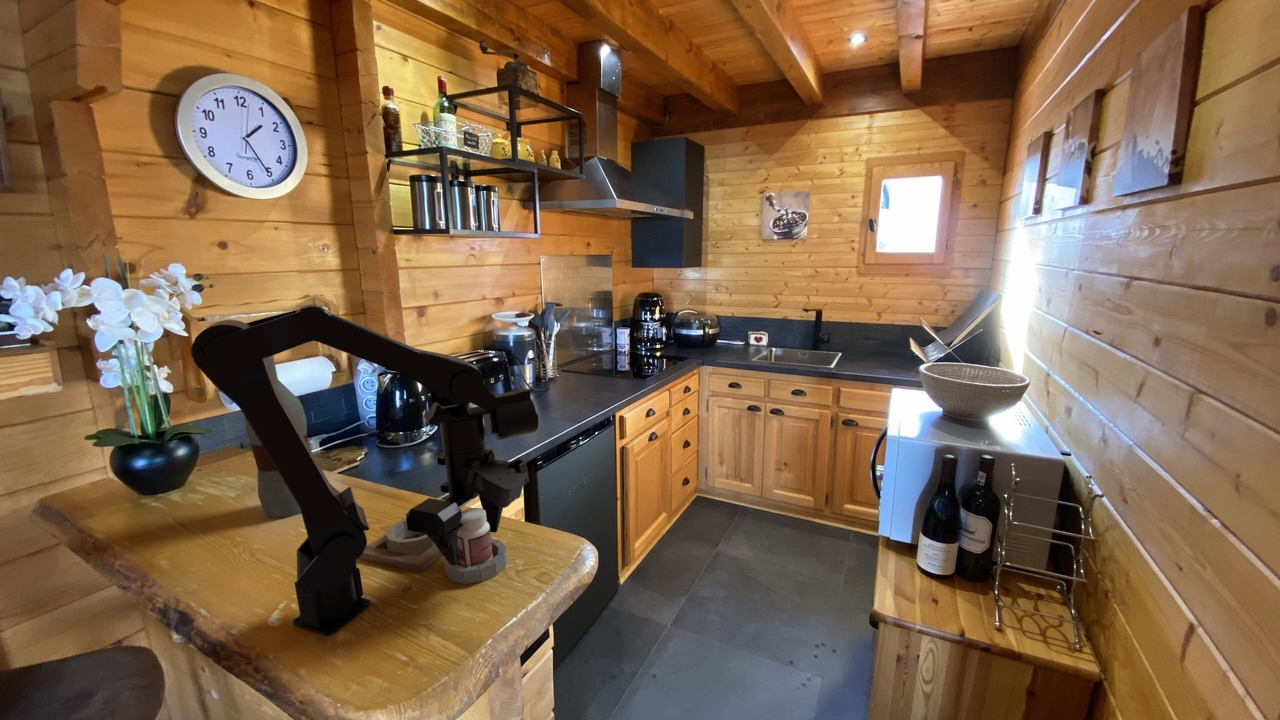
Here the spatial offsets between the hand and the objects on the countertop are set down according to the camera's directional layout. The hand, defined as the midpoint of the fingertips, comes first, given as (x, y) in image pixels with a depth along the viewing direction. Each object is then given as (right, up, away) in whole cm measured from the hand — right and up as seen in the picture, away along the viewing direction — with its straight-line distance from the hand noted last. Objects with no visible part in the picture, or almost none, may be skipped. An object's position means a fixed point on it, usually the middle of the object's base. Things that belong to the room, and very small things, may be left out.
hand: (474, 547), depth 78 cm
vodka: (-41, 0, +21) cm, 46 cm away
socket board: (-11, -2, +7) cm, 13 cm away
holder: (0, -3, +1) cm, 3 cm away
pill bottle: (0, -3, +1) cm, 3 cm away
